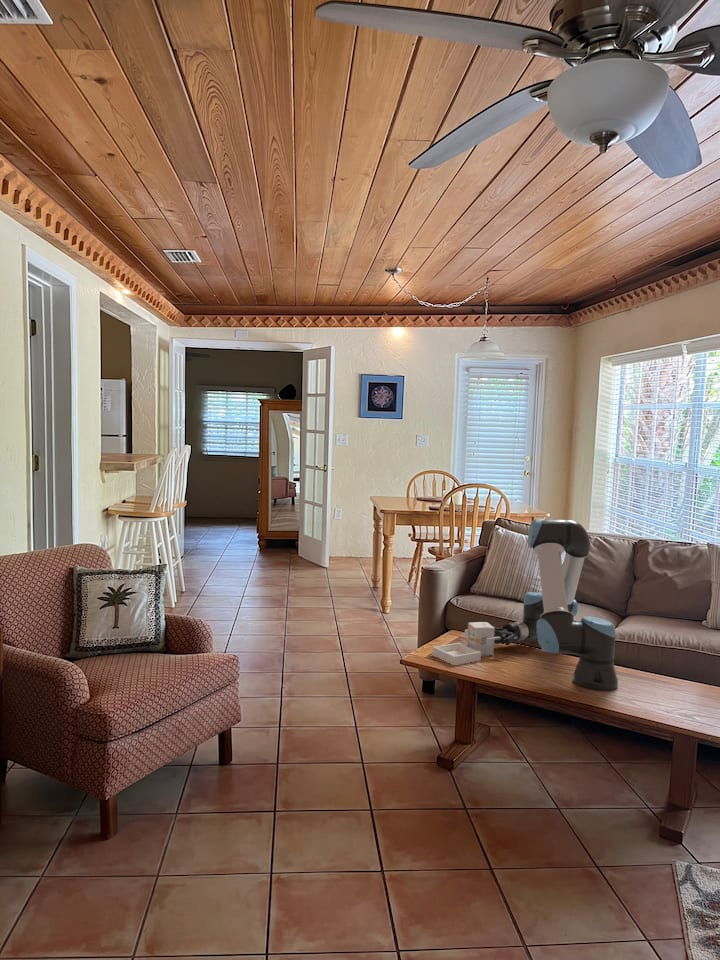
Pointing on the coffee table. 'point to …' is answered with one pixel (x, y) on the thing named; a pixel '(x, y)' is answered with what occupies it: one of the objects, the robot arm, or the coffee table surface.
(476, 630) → the ink box
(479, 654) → the open white box
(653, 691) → the coffee table surface
